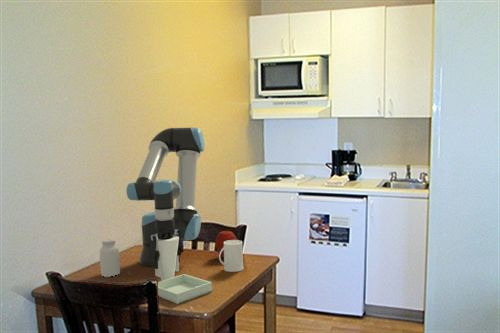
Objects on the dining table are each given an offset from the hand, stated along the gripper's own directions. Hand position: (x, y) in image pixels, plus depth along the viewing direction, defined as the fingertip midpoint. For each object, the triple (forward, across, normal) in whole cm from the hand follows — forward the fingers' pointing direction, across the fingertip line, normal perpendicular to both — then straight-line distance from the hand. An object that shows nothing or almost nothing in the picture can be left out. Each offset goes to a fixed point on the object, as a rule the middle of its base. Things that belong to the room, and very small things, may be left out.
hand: (167, 273), depth 207 cm
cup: (+4, 0, 0) cm, 4 cm away
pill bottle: (+4, -10, +27) cm, 29 cm away
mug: (+4, +27, -9) cm, 29 cm away
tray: (+3, -5, -15) cm, 16 cm away
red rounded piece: (+4, +39, +6) cm, 40 cm away
